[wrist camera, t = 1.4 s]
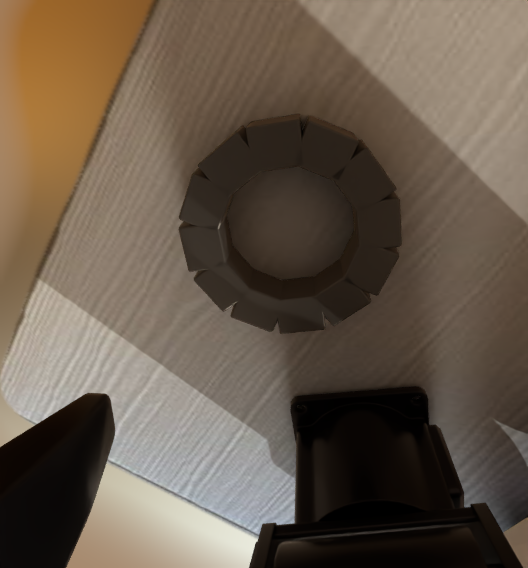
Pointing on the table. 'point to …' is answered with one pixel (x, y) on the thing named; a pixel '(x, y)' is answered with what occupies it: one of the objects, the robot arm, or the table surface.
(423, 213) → the table surface
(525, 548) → the perfume bottle
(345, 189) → the ring
